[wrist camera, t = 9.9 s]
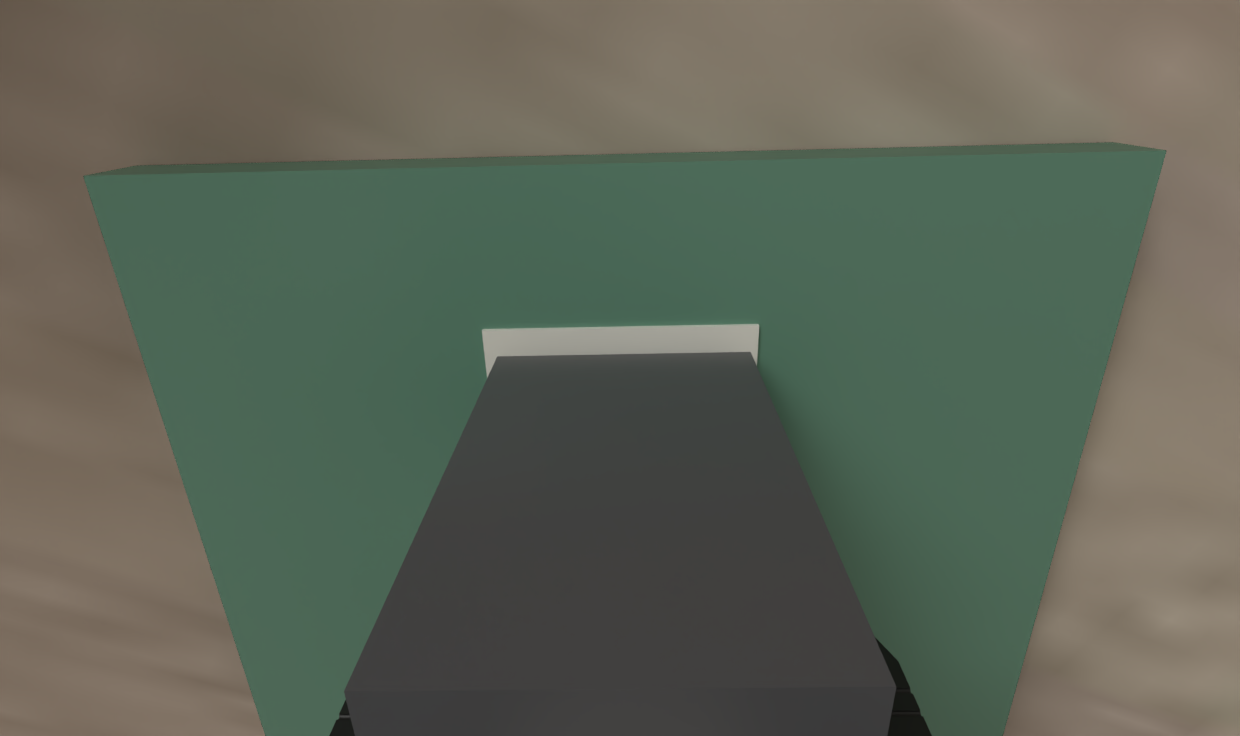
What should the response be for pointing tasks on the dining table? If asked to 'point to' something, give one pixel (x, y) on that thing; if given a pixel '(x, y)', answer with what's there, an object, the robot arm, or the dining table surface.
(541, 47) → the dining table surface
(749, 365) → the plug housing
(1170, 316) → the dining table surface
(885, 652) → the robot arm
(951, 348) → the header board
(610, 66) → the dining table surface
